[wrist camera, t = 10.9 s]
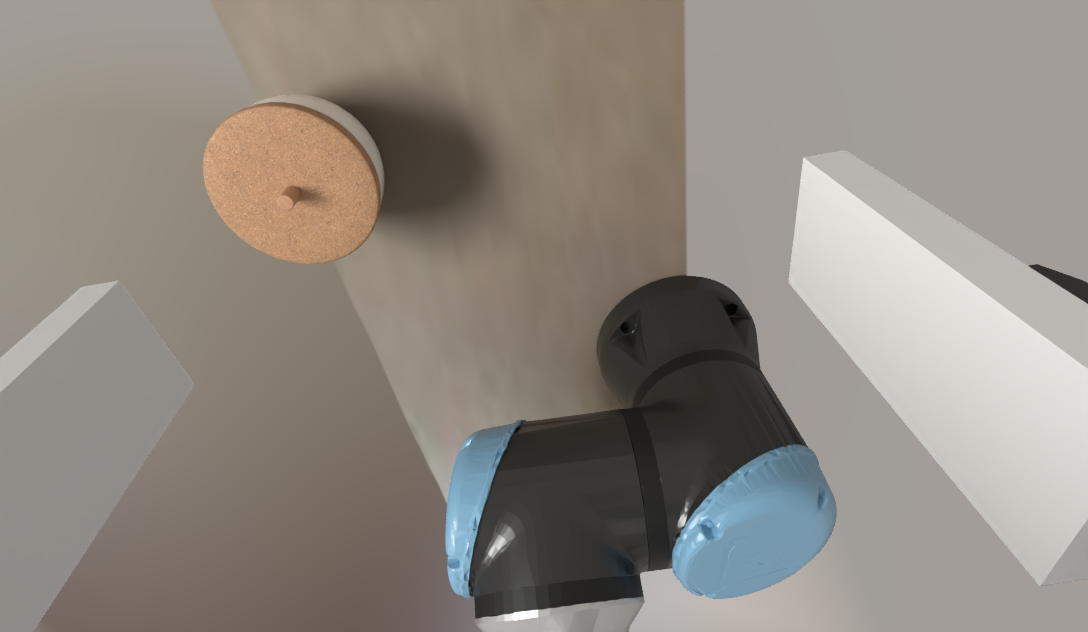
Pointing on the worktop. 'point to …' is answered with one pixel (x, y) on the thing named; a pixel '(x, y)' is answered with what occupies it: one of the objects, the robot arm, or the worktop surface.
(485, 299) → the worktop surface
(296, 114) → the lidded jar
